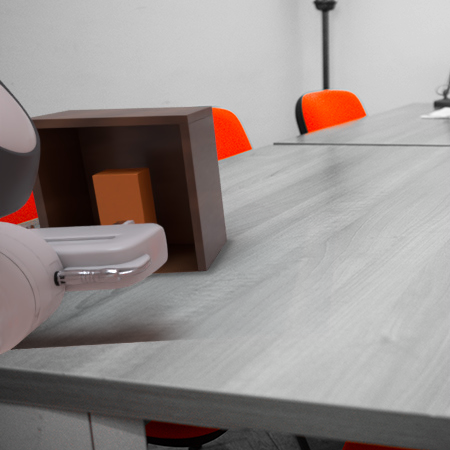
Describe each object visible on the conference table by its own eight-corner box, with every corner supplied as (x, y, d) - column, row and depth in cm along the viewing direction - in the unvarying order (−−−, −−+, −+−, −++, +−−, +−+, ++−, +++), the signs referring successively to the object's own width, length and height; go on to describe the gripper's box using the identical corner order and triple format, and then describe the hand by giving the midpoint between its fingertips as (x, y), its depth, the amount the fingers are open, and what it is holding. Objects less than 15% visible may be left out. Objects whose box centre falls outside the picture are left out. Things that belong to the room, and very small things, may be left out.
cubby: (53, 290, 68) (17, 119, 62) (95, 256, 79) (69, 110, 73) (208, 282, 69) (187, 114, 63) (228, 250, 80) (211, 106, 75)
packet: (109, 274, 68) (91, 175, 65) (122, 262, 72) (106, 168, 69) (152, 272, 69) (137, 173, 65) (162, 260, 72) (148, 167, 69)
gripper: (130, 236, 42) (182, 194, 56) (-164, 250, 41) (-38, 203, 54) (143, 314, 44) (191, 255, 57) (-138, 330, 43) (-23, 266, 56)
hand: (78, 230), depth 56 cm, fingers open, 8 cm apart
